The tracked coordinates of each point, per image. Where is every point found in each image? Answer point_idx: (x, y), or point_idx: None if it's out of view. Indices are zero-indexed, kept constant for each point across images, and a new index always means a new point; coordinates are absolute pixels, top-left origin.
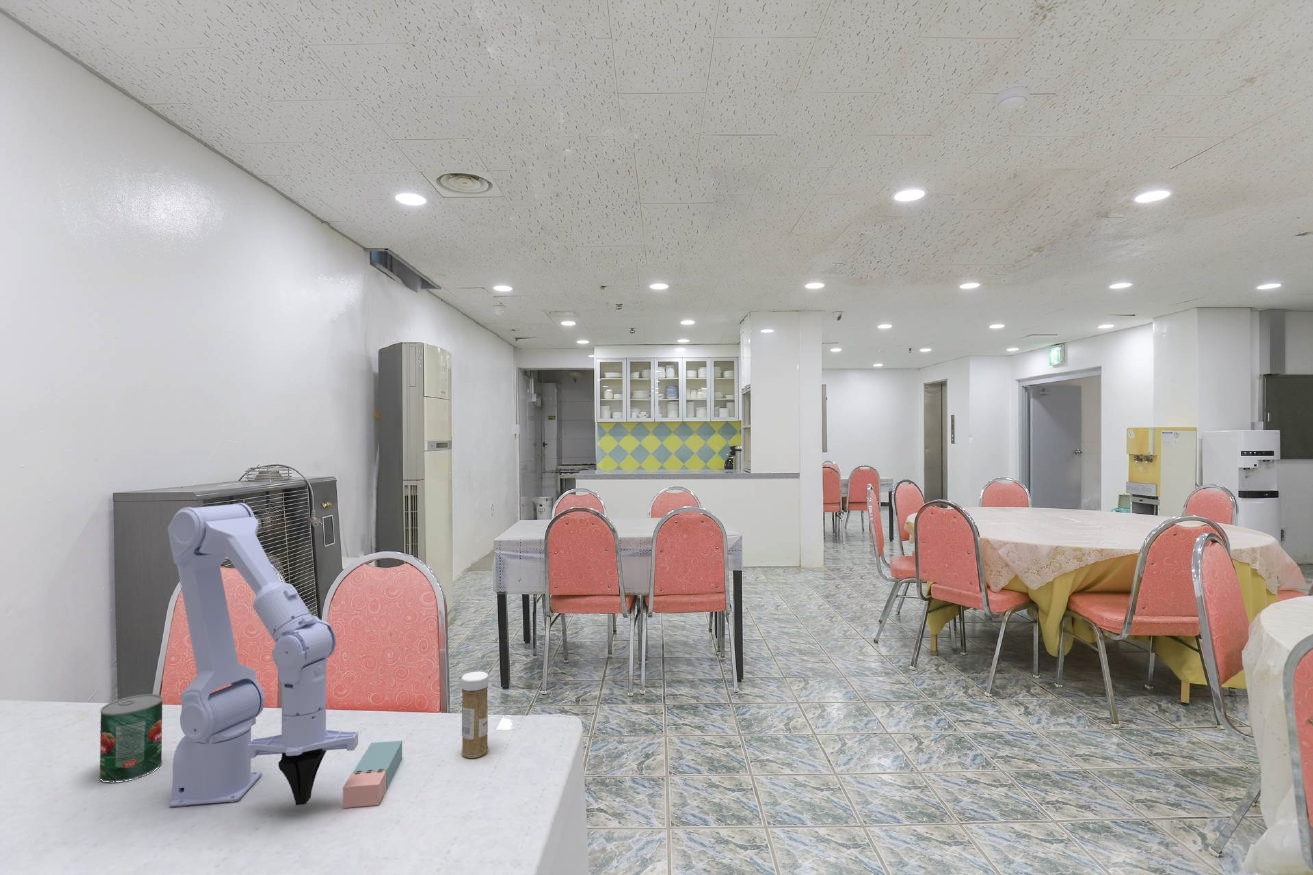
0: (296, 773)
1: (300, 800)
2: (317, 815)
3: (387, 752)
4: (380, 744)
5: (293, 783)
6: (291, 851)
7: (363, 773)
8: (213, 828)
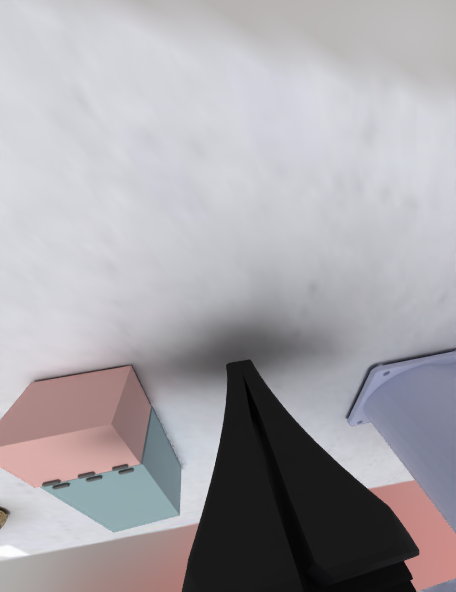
0: (281, 474)
1: (240, 369)
2: (183, 338)
3: (114, 512)
4: (154, 517)
5: (277, 419)
6: (148, 149)
7: (101, 469)
8: (407, 289)
